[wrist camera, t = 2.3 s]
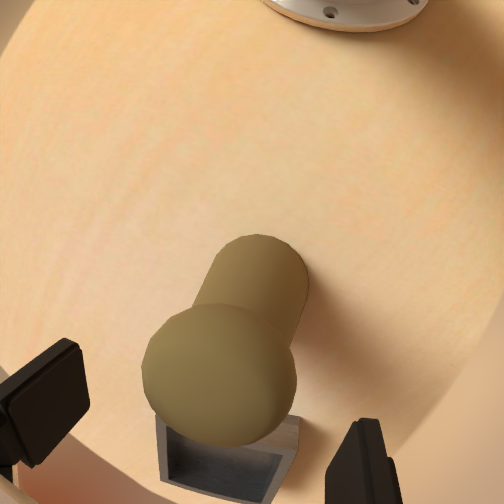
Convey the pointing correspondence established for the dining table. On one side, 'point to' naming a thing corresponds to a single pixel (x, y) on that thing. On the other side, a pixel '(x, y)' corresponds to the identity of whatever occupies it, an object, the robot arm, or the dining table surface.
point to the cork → (231, 347)
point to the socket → (228, 463)
